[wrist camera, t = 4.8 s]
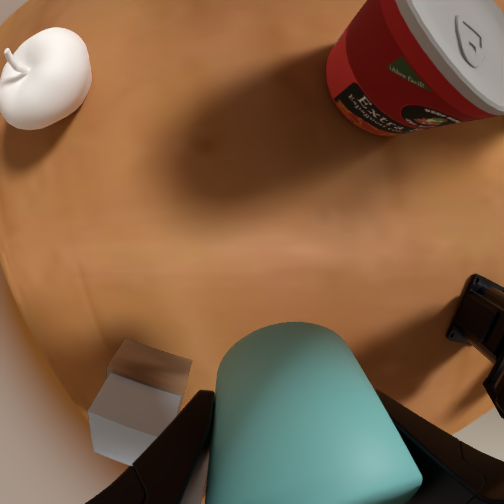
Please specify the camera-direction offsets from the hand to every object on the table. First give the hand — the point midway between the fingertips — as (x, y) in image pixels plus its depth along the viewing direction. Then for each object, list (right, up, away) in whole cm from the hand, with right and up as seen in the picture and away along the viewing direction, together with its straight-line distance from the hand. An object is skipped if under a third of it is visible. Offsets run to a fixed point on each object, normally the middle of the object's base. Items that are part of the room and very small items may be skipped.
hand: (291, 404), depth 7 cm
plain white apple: (-15, +16, +8) cm, 23 cm away
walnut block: (-9, -6, +13) cm, 17 cm away
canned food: (+7, +16, +9) cm, 19 cm away
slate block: (-9, -7, +10) cm, 15 cm away
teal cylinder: (0, 0, +1) cm, 1 cm away
